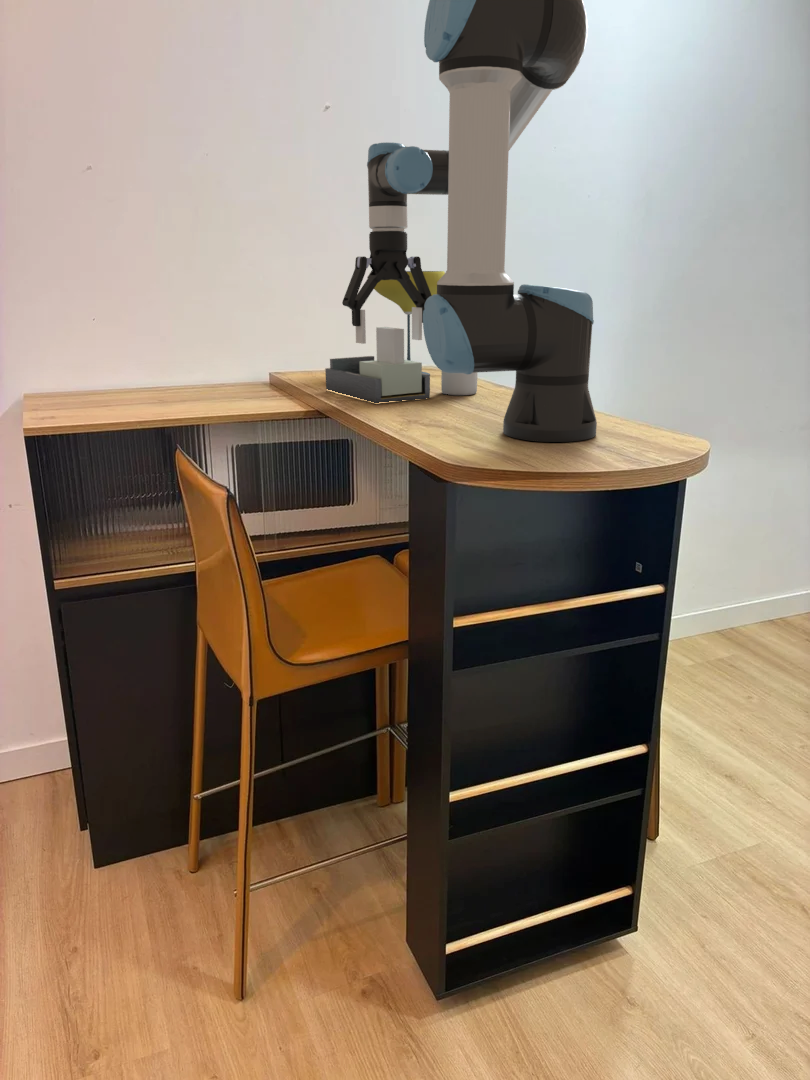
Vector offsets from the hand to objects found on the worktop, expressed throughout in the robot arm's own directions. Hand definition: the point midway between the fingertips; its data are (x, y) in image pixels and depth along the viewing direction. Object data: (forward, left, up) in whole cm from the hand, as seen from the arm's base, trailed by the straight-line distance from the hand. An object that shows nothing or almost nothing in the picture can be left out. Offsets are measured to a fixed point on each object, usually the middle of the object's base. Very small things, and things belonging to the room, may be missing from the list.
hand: (389, 341), depth 168 cm
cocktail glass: (+37, -7, -12) cm, 40 cm away
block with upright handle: (0, 0, -10) cm, 10 cm away
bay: (+5, +3, -12) cm, 13 cm away
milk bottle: (+5, -15, -12) cm, 20 cm away
